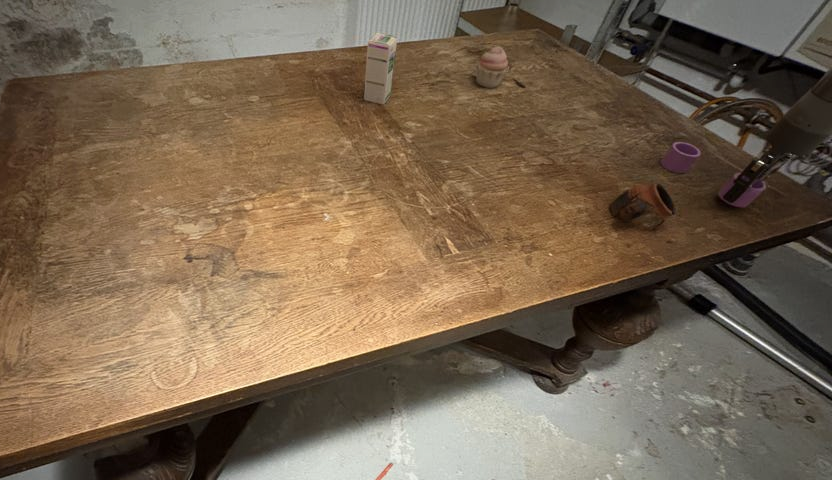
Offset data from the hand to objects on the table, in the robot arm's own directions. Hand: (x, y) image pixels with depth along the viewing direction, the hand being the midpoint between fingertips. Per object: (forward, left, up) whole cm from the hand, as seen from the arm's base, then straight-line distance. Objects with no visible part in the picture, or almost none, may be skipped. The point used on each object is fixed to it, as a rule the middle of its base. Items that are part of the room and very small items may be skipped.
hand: (736, 195), depth 86 cm
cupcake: (+11, -64, -2) cm, 65 cm away
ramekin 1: (-2, -14, -2) cm, 14 cm away
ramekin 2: (0, 0, -1) cm, 1 cm away
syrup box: (+45, -70, -2) cm, 83 cm away
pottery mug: (+24, -7, -2) cm, 25 cm away
